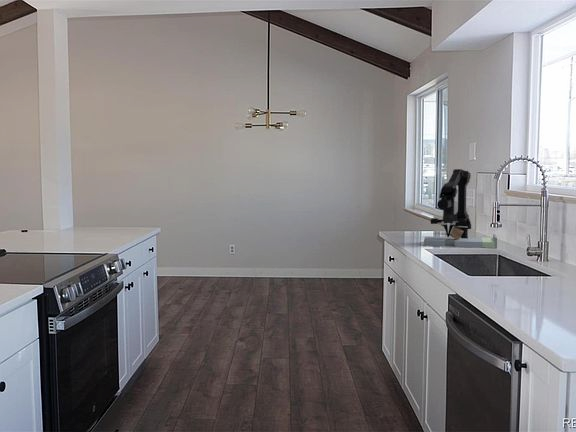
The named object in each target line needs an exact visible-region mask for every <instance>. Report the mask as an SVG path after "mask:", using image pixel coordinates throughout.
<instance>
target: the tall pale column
mask: <svg viewBox="0 0 576 432" xmlns="http://www.w3.org/2000/svg"><path fill="white" fill-rule="evenodd" d="M469 207H470V206H469V205H468V203H467V202H466V212H467V213H468V212H469ZM457 212H458V199H456V200H454V214H456V213H457ZM458 227H466V226H458ZM467 227H468V226H467ZM453 228H454V226H453ZM453 228H452V230H453ZM452 230H451V231H452Z"/></svg>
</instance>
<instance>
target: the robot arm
mask: <svg viewBox="0 0 576 432" xmlns="http://www.w3.org/2000/svg"><path fill="white" fill-rule="evenodd" d="M470 180H471V172H469V170H464V169H462V168H460V169H459V168H458V169H457V168H454V169H453V170H452V174H451V176H450V178H449V179H448V181H447V182H446V183H444V185H442V187H441V190H440V193H439V197H438V198H439V200H438V201H437V205H436V206H437V207H438V209H439V210H442V219H440V218H438V217H431V219H430V224H431V225H437V224H438V223H439V224H441V227H444V230H445V233H446V234H445V235H446V237H450V236H449V235H450V233H451V230H452V228H453V226H454V227H457V228H459V229H461V230H463V231H464V232H463V233H462V235H461V238H465V239H469V237H468V235H469V230H471V229H472V222H471V219H470V216H469V213H468V212H466V203H467V186H468V185H469V183H470ZM456 196H457V200H458V212H457V213H456V214H454V201H456V200H455V199H456ZM448 224H449V227H448ZM458 226H466V227H458ZM467 226H468V227H467Z"/></svg>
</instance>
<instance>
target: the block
mask: <svg viewBox="0 0 576 432" xmlns="http://www.w3.org/2000/svg"><path fill="white" fill-rule="evenodd" d="M463 232H464V231H463V230H461V229H459V228H457V227H454V228H453V230H452V231H451V232H450V235H449V237H453V238H455V239H456V240H458V239H460V237H461V235H462V233H463Z"/></svg>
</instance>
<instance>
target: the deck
mask: <svg viewBox="0 0 576 432" xmlns="http://www.w3.org/2000/svg"><path fill="white" fill-rule="evenodd" d="M441 246H453V247H452V248H473V247H485V248H484V249H497V248H498V237H497V235H496V233H493V235H492V237H469V238H468V239H465V238H461V237H460V239H458V240H456V239H455V238H453V237H451V236H449V237H447V236H431V235H430V236H425V237H424V239H423V247H441Z"/></svg>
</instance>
